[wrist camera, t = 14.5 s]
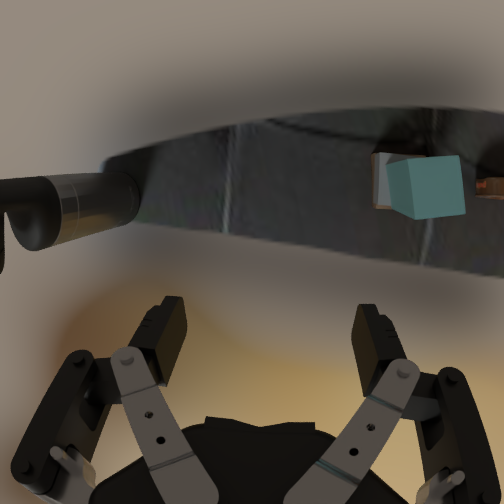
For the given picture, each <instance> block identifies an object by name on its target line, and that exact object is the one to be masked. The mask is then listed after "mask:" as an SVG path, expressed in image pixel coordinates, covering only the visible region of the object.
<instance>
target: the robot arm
mask: <svg viewBox="0 0 504 504" xmlns="http://www.w3.org/2000/svg"><path fill="white" fill-rule="evenodd" d="M139 202H140V197H139V191H138V188H137V185H136V183H135V181H134V180H133V179H132V178H131V177H130V176H129V175H127V174H125V173H121V172H107V173H105V172H104V173H81V174H63V175H50V176H37V177H25V178H13V179H1V180H0V274H1V272H2V271H3V267H4V259H5V248H4V213H5V212H6V213H7V216H8V218H9V221H10V225H11V228H12V230H13V233H14V235H15V237H16V239H17V240H18V242H19V243H20V244H21V245H22V246H23V247H24V248H25V249H27V250H29V251H39V250H42V249H45V248H48V247H52V246H55V245H57V244H61V243H64V242H67V241H71V240H74V239H78V238H81V237H84V236H88V235H91V234H95V233H98V232H102V231H105V230H109V229H113V228H116V227H120V226H123V225H126V224H128V223H130V222H131V221H132V220H133V219H134V217H135V216H136V214H137V211H138V208H139ZM186 333H187V319H186V314H185V307H184V301H183V298H182V297H177V296H165V298H164V300H163V301H162V303H161V305H160V306H158V305H156V306H154V307H152V308H151V309H150V310H149V311H147V313H146V315H145V317H144V318H143V320H142V322H141V323H140V326H139V327H138V328H137V330H136V332H135V334H134V335H133V337H132V339H131V341H130V343H129V345H128V346H127V347H123V348H120V349H118V350H117V351H115V352H114V353H113V355H112V357H110V358H97V359H94V357H93V355H92V353H91V352H89V351H87V350H77V351H74V352H72V353H71V354H69V355H68V357H67V358H66V359H65V361H64V363H63V365H62V366H61V368H60V369H59V371H58V373H57V375H56V376H55V378H54V380H53V382H52V383H51V385H50V387H49V388H48V390H47V392H46V394H45V396H44V397H43V399H42V401H41V403H40V405H39V407H38V409H37V411H36V413H35V414H34V416H33V418H32V420H31V422H30V424H29V426H28V428H27V430H26V432H25V434H24V436H23V438H22V440H21V442H20V444H19V446H18V449H17V451H16V453H15V455H14V457H13V459H12V462H11V473H12V475H13V477H14V479H15V480H16V481H18V482H19V483H20V484H22V485H23V486H25V487H26V488H27V489H28V490H29V491H30V492H32V493H33V494H35V495H36V496H38V497H39V498H41V499H42V500H44V501H45V502H47V503H49V504H409V503H408V502H407V501H406V500H405V499H403V498H402V497H401V496H400V495H399V494H398V493H396V492H395V491H394V490H393V489H392V488H391V487H390V486H389V485H387V484H386V483H385V482H384V481H383V480H382V479H381V478H379V477H378V476H377V475H376V474H375V473H374V472H373V471H372V470H371V469H370V467H371V465H372V464H373V463H374V461H375V460H376V458H377V456H378V455H379V453H380V452H381V450H382V448H383V447H384V445H385V443H386V442H387V440H388V438H389V437H390V435H391V433H392V432H393V430H394V428H395V426H396V424H397V423H398V421H399V419H400V418H403V419H409V420H414V421H415V426H416V431H417V436H418V441H419V447H420V452H421V458H422V464H423V471H424V477H425V484H423V485H422V486H421V487H420V488H419V490H418V492H417V495H416V503H415V504H500V501H501V489H500V484H499V480H498V476H497V472H496V468H495V464H494V460H493V456H492V452H491V449H490V446H489V442H488V439H487V436H486V432H485V429H484V426H483V423H482V420H481V418H480V415H479V412H478V409H477V406H476V403H475V401H474V398H473V396H472V393H471V390H470V388H469V385H468V383H467V380H466V378H465V376H464V374H463V373H462V372H461V371H459V370H458V369H456V368H453V367H445V368H443V369H441V370H440V372H439V373H438V375H435V374H429V373H424V372H420V370H419V368H418V366H417V365H416V364H415V363H413V362H412V361H410V360H407V357H406V355H405V352H404V350H403V347H402V345H401V342H400V340H399V338H398V335H397V332H396V331H395V328H394V325H393V323H392V321H391V320H390V319H389V318H388V317H387V316H386V315H379V312H378V310H377V307H376V305H375V304H359V305H358V307H357V311H356V316H355V320H354V324H353V328H352V335H351V340H352V345H353V350H354V354H355V359H356V363H357V367H358V372H359V376H360V381H361V386H362V391H363V396H364V397H366V399H365V400H364V402H363V403H362V405H361V406H360V407H359V409H358V411H357V412H356V413H355V415H354V416H353V417H352V419H351V420H350V421H349V423H348V424H347V425H346V427H345V428H344V429H343V431H342V432H341V433H340V434H339V436H338V437H337V438H336V437H334V436H332V435H330V434H328V433H326V432H323V431H320V430H315V422H287V423H281V424H275V425H270V426H264V427H258V426H254V425H250V424H247V423H243V422H240V421H237V420H234V419H226V418H216V417H208V416H206V418H205V422H204V423H203V424H197V425H192V426H189V427H186V428H184V429H182V430H180V428H179V426H178V424H177V422H176V420H175V419H174V417H173V415H172V413H171V411H170V409H169V407H168V405H167V403H166V401H165V399H164V397H163V396H162V393H161V391H160V389H159V387H158V386H165V387H167V384H168V382H169V379H170V376H171V373H172V371H173V368H174V366H175V363H176V360H177V358H178V355H179V352H180V350H181V347H182V344H183V342H184V339H185V337H186ZM112 404H123V407H124V409H125V412H126V415H127V417H128V420H129V423H130V425H131V428H132V430H133V433H134V435H135V438H136V440H137V443H138V445H139V447H140V449H141V452H142V454H143V456H142V457H140V458H139V459H137V460H136V461H134V462H133V463H131V464H130V465H128V466H126V467H125V468H123V469H122V470H120V471H119V472H117V473H115V474H113V475H112V476H110V477H109V478H107V479H105V480H104V481H102V482H101V483H99V484H98V485H97V486H95V476H96V473H95V470H94V468H93V466H92V465H91V464H90V462H91V459H92V457H93V454H94V451H95V448H96V446H97V443H98V440H99V437H100V435H101V432H102V429H103V427H104V424H105V421H106V419H107V416H108V414H109V411H110V409H111V406H112Z"/></svg>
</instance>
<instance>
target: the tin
mask: <svg viewBox="0 0 504 504" xmlns="http://www.w3.org/2000/svg"><path fill="white" fill-rule="evenodd" d="M475 196H476V197H479V198H491V199H502V200H504V177H488V178H485V179H476V195H475Z"/></svg>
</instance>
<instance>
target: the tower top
mask: <svg viewBox="0 0 504 504" xmlns="http://www.w3.org/2000/svg"><path fill="white" fill-rule="evenodd" d="M414 158H422V157H415V156H407V155H399V154H391V153H382V152H379V153H377V154H376V155H375V171H374V195H373V203H375V204H377V205H387V206H391V200H390V192H389V185H388V178H387V171H386V165H387V164H391V163H394V162H398V161H402V160H406V159H414Z"/></svg>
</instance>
